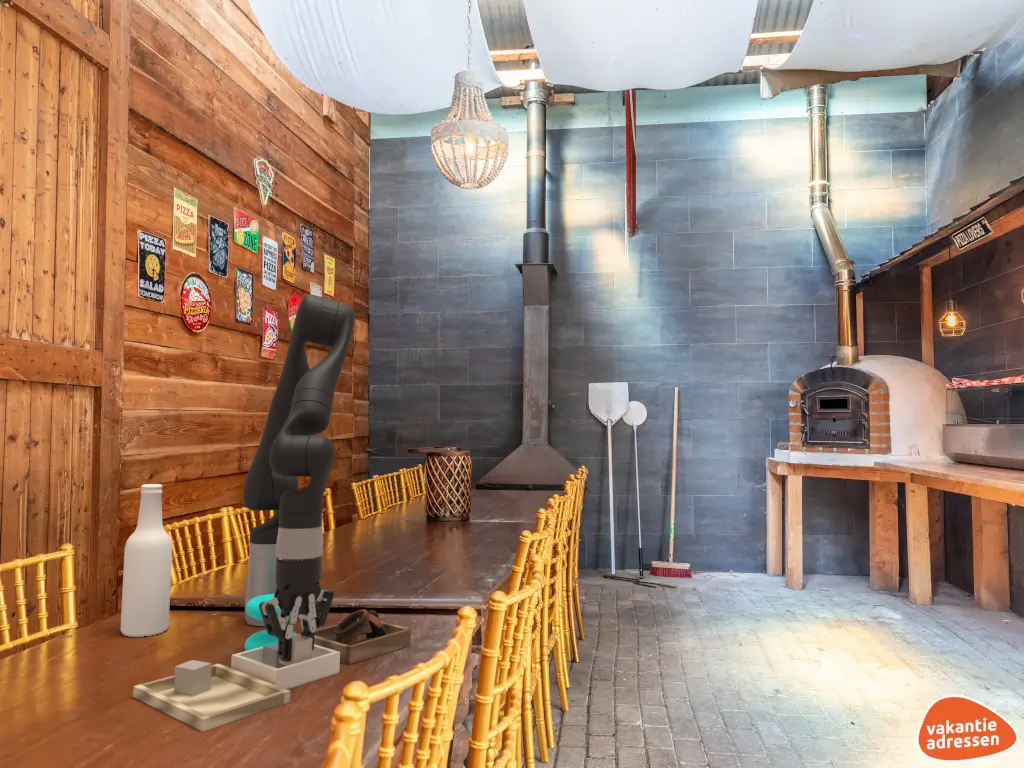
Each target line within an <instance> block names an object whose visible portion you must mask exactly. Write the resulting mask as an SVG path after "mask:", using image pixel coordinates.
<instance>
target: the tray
mask: <svg viewBox="0 0 1024 768" xmlns="http://www.w3.org/2000/svg"><path fill="white" fill-rule="evenodd" d="M174 675H175V674H174ZM174 675H170V676H166V677H162V678H159V679H156V680H151V681H149V682H143V683H139V684H136V685H133V688H132V689H133V690H132V692H133V693H132V697H133V698H134V699H136V700H137V701H140V702H142V703H144V704H146V705H148V706H150V707H152V708H154V709H156V710H158V711H160V712H162V713H164V714H166V715H168V716H170V717H172V718H174V719H176V720H178V721H179V722H183V723H184V724H186V725H188V726H189V727H192V728H194V729H196V730H198V731H200V732H202V733H203V732H206V731H209V730H212V729H215V728H217V727H221V726H224V725H226V724H229V723H233V722H235V721H238V720H241V719H244V718H247V717H250V716H252V715H253V716H254V715H257V714H259V713H262V712H265V711H268V710H270V709H273V708H276V707H279V706H282V705H285V704H288V703H290V702H291V690H290V689H288V690H287V689H284V688H281V687H279V686H276V685H274V684H271V683H268V682H266V681H263V680H260V679H258V678H255V677H253V676H250V675H247V674H245V673H242V672H239V671H237V670H234V669H232V668H231V667H228V666H226V665H223V664H222V663H215V664H212V665H211V689H210V690H207V691H205V692H203V693H200V694H198V695H196V696H188V695H183V694H178V693H174Z"/></svg>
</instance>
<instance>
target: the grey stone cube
mask: <svg viewBox="0 0 1024 768" xmlns="http://www.w3.org/2000/svg"><path fill="white" fill-rule="evenodd" d="M211 665H213V663H211V662H206V661H200V660H195V659H192V660H189V661H186V662H183V663H181V664H178V665H175V666H174V693H178V694H183V695H188V696H196V695H198V694H200V693H203V692H205V691H207V690H210V689H211Z"/></svg>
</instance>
